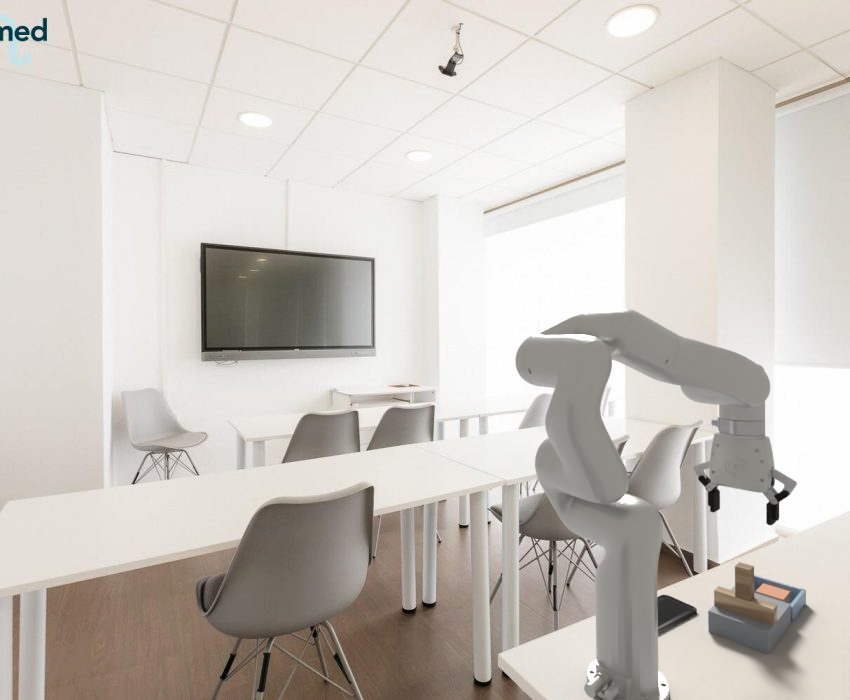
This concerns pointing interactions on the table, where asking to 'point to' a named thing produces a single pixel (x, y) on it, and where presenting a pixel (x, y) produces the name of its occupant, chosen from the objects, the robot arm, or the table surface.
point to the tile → (774, 593)
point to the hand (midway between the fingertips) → (742, 516)
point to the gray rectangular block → (750, 625)
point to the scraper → (745, 597)
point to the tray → (795, 594)
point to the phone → (672, 612)
